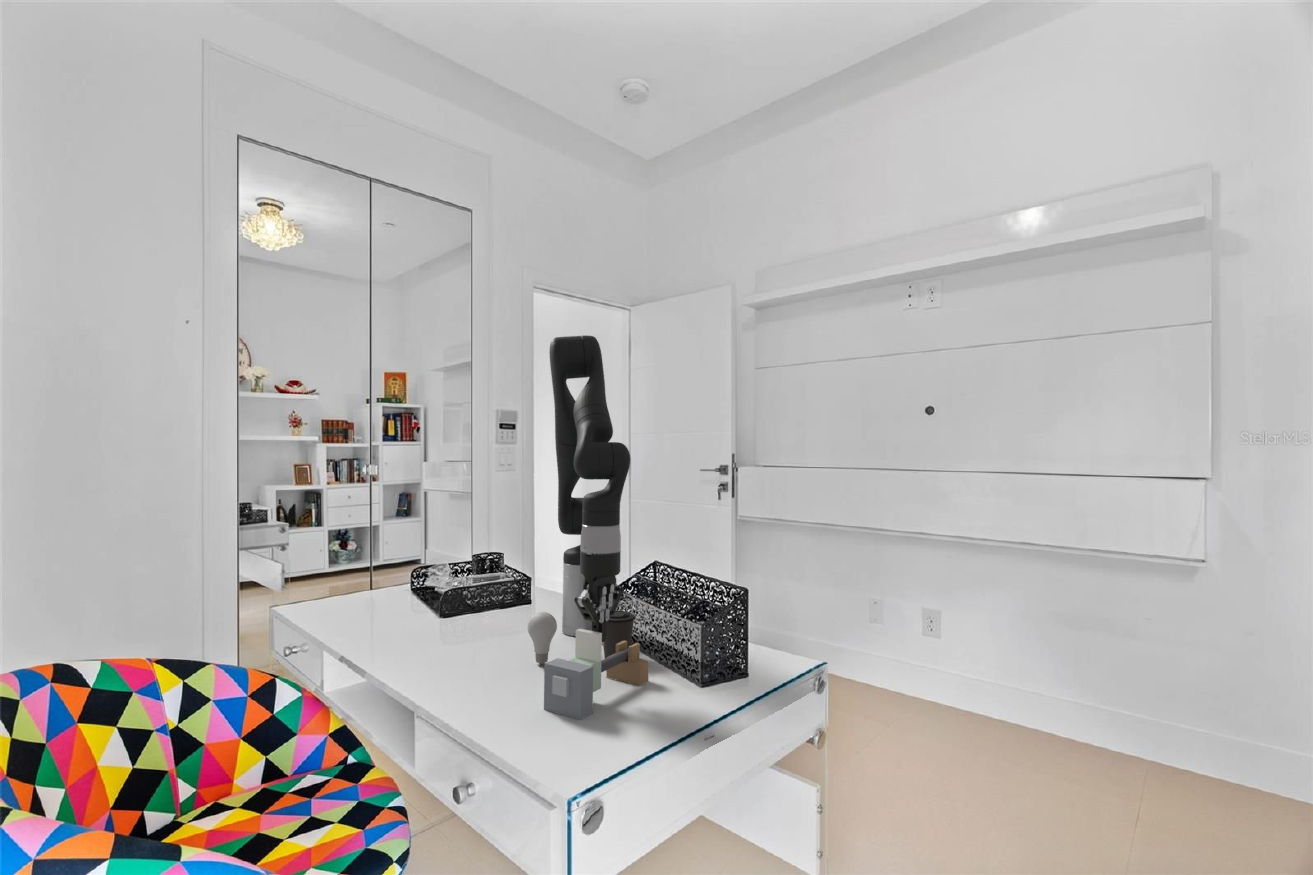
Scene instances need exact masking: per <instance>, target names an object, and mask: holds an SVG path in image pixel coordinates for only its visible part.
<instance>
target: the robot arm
mask: <svg viewBox="0 0 1313 875" xmlns="http://www.w3.org/2000/svg"><path fill="white" fill-rule="evenodd" d="M549 365H550V367H549V368H550V374H551V382H552V391H553V400H554V401H553V402H554V428H555V429H554V435H555V436H554V438H555V452H556V453H555V454H556V464H557V477H558V478H557V480H558V481H557V483H558V484H557V486H558V487H557V488H558V489H557V490H558V492H557V493H558V494H557V495H558V496H557V522H558V528H559V531H560V533H561V534H563V535H569V536H570V535H571V536H572V535H573V536H574V535H575V536H580V544H579V545H576V546H574V547H571V548H568V549H566V550H565V551H563V557H562V560H563V562H562V565H563V566H562V568H563V570H562V616H561V620H562V622H561V623H562V624H561V625H562V630H561V632H562V633H563V634H564V635H567V636H571V637H576V630H578V629H584V630H589V631H594V632H600V633H602V643H603V642H604V641H606V636H607V621H608V620H609V617H610V616H611V615H612V616H613V615H614V613H615V611H617V608H618V605H619V603H620V600H621V598H622V595H623V593H624V590H625V588H624V586H622V585H621V586H620V585H618V584H617V576H618V575H619V574H620V573H621V563H622V561H621V558H622V557H621V556H622V555H621V551H622V550H621V549H622V548H621V547H622V543H621V542H622V534H621V526H620V523H621V501H622V495H623V490H624V488H625V484H626V480H627V476H628V474H629V470H630V465H631V455H630V450H629V448H628V447H627V445H626V444H624V443H622V442H617V441H611V439H612V438H613V435H614V429H613V427H614V426H613V423H612V420H611V416H610V415H611V414H610V411H609V409H608V403H607V396H606V382H605V373H604V363H603V355H602V350H601V345H600V342H599V341H598V339H597V337H596V336H593V335H571V336H556V337H554V338H552V340H551V341H550V344H549ZM582 378H588V380H587V382H586V383H585V385H584V387H583V388H582V389H581V391H580V393H579V394H578V396H577V398H576V400H575V398H574V396H573V395H572V393H571V390H570V389H569V386H568V384H567V381H568V380H569V379H572V380H573V379H582ZM580 478H581V479H584V480H591V481H592V480H608V482H607V483H606V486H605V487H604V488H603V489H600V490H596V491H593V492H588V493H586V494H585V495H584V496H583V497H573V496H572V494H573V491H574V489H575V487H576V485H577V483H578V482H579V480H580Z"/></svg>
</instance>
